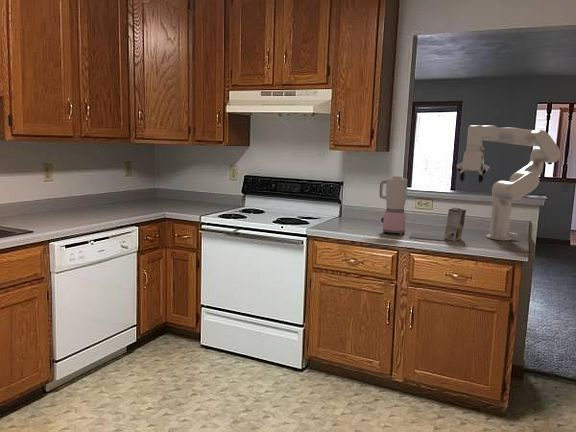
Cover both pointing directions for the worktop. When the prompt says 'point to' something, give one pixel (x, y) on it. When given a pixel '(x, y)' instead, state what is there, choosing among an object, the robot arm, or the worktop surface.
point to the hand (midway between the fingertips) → (471, 181)
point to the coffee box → (455, 224)
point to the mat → (427, 236)
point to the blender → (394, 204)
